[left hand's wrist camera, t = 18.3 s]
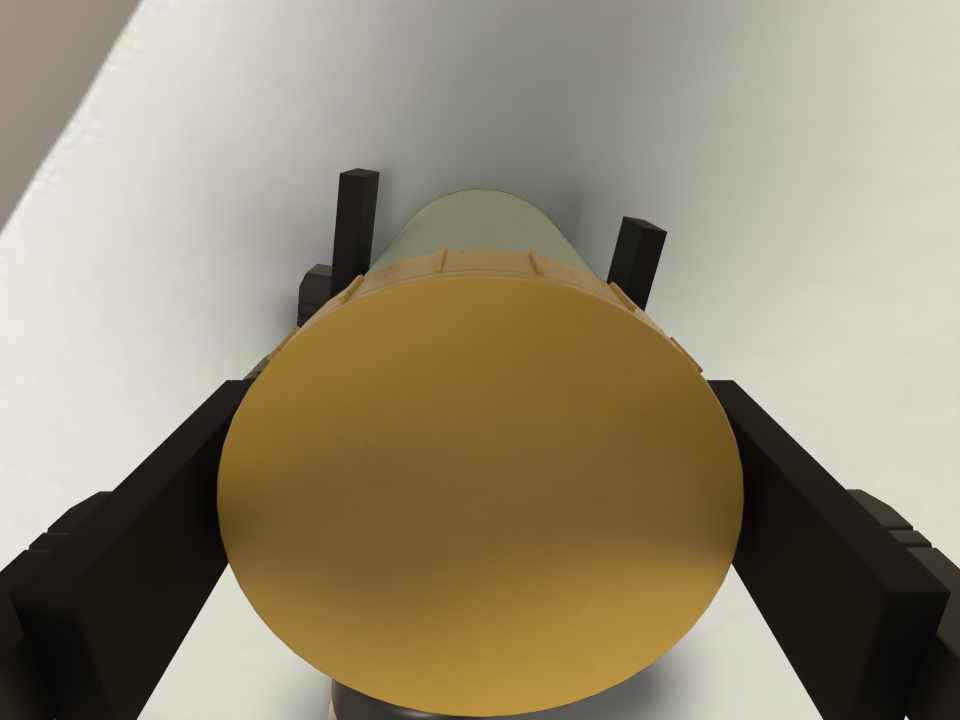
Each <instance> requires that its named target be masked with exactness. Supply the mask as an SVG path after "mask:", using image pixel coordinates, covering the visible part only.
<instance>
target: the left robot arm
mask: <svg viewBox="0 0 960 720" xmlns="http://www.w3.org/2000/svg"><path fill="white" fill-rule="evenodd" d="M254 381H255V380H227V381H225V382H224V383H223V384H222V385H221V386H220V387H219V388H218V389H217V390H216V391H215V392H214V393H213V394H212V395H211V396H210V397H209V398H208V399H207V400H206V401H205V402H204V403H203V404H202V405H201V406H200V407H199V408H198V409H197V410H196V411H195V412H194V413H193V414H192V415H191V416H189V417H188V418H187V419H186V420H185V421H184V422H183V423H182V424H181V425H180V426H179V427H178V428H177V429H176V430H175V431H174V432H173V433H172V434H171V435H170V436H169V437H168V438H167V439H166V440H165V441H164V442H163V443H162V444H161V445H160V446H159V447H158V448H157V449H156V450H155V451H153V452H152V453H151V454H150V455H149V456H148V457H147V458H146V459H145V460H144V461H143V462H142V463H141V464H140V465H139V466H138V467H137V468H136V469H135V470H134V471H133V472H132V473H131V474H130V475H129V476H128V477H127V478H126V479H125V480H124V481H123V482H122V483H121V484H120V485H118V486H117V487H116V488H115V489H114V490H113V491H100V492H98V493H96V494H95V495H93V496H91V497H89V498H88V499H86V500H84V501H82V502H80V503H79V504H77V505H75V506H73V507H72V508H70V509H69V510H68V511H67V512H65V513H64V514H63V515H62V516H61V517H60V518H59V519H58V520H57V521H56V522H54V523H53V524H52V525H51V526H50V527H49V528H48V531H47V533H42V534H41V535H40V536H39V537H38V538H37V539H36V540H35V541H34V542H33V543H31V544H30V545H29V549H28V550H24V551H23V552H22V553H21V554H19V555H18V556H17V557H16V558H15V559H14V560H13V561H12V562H11V563H10V564H8V565H7V566H6V567H5V568H4V569H3V570H2V571H1V572H0V720H53V719H54V718H56V720H137V718H138V716H139V715H140V713H141V711H142V710H143V708H144V706H145V705H146V703H147V701H148V699H149V698H150V696H151V694H152V693H153V691H154V689H155V687H156V686H157V684H158V682H159V681H160V679H161V677H162V676H163V674H164V672H165V670H166V669H167V667H168V665H169V664H170V662H171V660H172V658H173V657H174V655H175V653H176V652H177V650H178V648H179V647H180V645H181V643H182V641H183V640H184V638H185V636H186V635H187V633H188V631H189V629H190V628H191V626H192V624H193V623H194V621H195V619H196V618H197V616H198V614H199V612H200V611H201V609H202V607H203V606H204V604H205V602H206V600H207V599H208V597H209V595H210V594H211V592H212V590H213V589H214V587H215V585H216V583H217V582H218V580H219V578H220V577H221V575H222V573H223V572H224V570H225V568H226V566H227V565H228V563H229V561H228V558H227V555H226V551H225V548H224V544H223V541H222V537H221V533H220V526H219V518H218V511H217V480H218V471H219V465H220V460H221V455H222V449H223V445H224V442H225V439H226V437H227V434H228V431H229V428H230V425H231V423H232V420H233V417H234V415H235V413H236V411H237V410H238V408H239V406H240V404H241V402H242V401H243V399H244V397H245V395H246V393H247V392H248V390H249V388H250V387H251V385H252V384H253V383H254ZM706 381H707V382H708V384H709V386H710V387H711V389H712V391H713V392H714V394H715V396H716V397H717V399H718V401H719V402H720V404H721V406H722V407H723V409H724V411H725V414H726V416H727V419H728V421H729V424H730V426H731V429H732V431H733V434H734V436H735V439H736V442H737V447H738V451H739V456H740V460H741V465H742V470H743V487H744V507H743V516H742V526H741V532H740V536H739V539H738V543H737V547H736V551H735V555H734V558H733V560H732V565H733V566H734V568H735V570H736V572H737V573H738V575H739V577H740V578H741V580H742V582H743V583H744V585H745V587H746V589H747V590H748V592H749V594H750V595H751V597H752V599H753V601H754V602H755V604H756V606H757V607H758V609H759V611H760V612H761V614H762V616H763V618H764V619H765V621H766V623H767V624H768V626H769V628H770V630H771V631H772V633H773V635H774V636H775V638H776V640H777V641H778V643H779V645H780V647H781V648H782V650H783V652H784V653H785V655H786V657H787V658H788V660H789V662H790V664H791V665H792V667H793V669H794V670H795V672H796V674H797V676H798V677H799V679H800V681H801V682H802V684H803V686H804V687H805V689H806V691H807V693H808V694H809V696H810V698H811V699H812V701H813V703H814V705H815V706H816V708H817V710H818V711H819V713H820V715H821V716H822V718H823V720H904V718H905V716H907V718H908V719H909V720H960V569H959V568H958V567H957V566H956V565H955V564H954V563H953V562H951V561H950V560H949V559H948V558H947V557H946V556H945V555H944V554H943V553H942V552H940V551H939V550H938V549H937V548H932V545H931V544H932V543H931V542H929V541H928V540H927V539H926V538H925V537H924V536H923V535H922V534H921V533H919V532H918V531H914V530H913V526H912V525H911V524H910V523H908V522H907V521H906V520H905V519H904V518H903V517H902V516H901V515H900V514H899V513H897V512H896V511H895V510H894V509H893V508H892V507H891V506H889V505H887V504H885V503H884V502H882V501H880V500H878V499H877V498H875V497H873V496H871V495H869V494H868V493H866V492H864V491H862V490H846V489H845V488H844V487H843V486H841V485H840V484H839V483H838V482H837V481H836V480H835V479H834V478H833V477H832V476H831V475H830V474H829V473H828V472H827V471H826V470H825V469H824V468H823V467H822V466H821V465H820V464H819V463H818V462H817V461H816V460H815V459H814V458H813V457H812V456H811V455H810V454H809V453H808V452H807V451H805V450H804V449H803V448H802V447H801V446H800V445H799V444H798V443H797V442H796V441H795V440H794V439H793V438H792V437H791V436H790V435H789V434H788V433H787V432H786V431H785V430H784V429H783V428H782V427H781V426H780V425H779V424H778V423H777V422H776V421H775V420H774V419H773V418H772V417H771V416H769V415H768V414H767V413H766V412H765V411H764V410H763V409H762V408H761V407H760V406H759V405H758V404H757V403H756V402H755V401H754V400H753V399H752V398H751V397H750V396H749V395H748V394H747V393H746V392H745V391H744V390H743V389H742V388H741V387H740V386H739V385H738V384H737V383H736V382H734V381H733V380H706Z"/></svg>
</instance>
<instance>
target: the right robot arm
mask: <svg viewBox="0 0 960 720" xmlns="http://www.w3.org/2000/svg"><path fill="white" fill-rule="evenodd" d="M379 173H380V172H376V171H370V170H365V169H359V168H357V169H353V170H349V171H346V172H342V173H340V179H339V191H338V203H337V215H336V227H335V239H334V251H333V263H332V266H328V265H322V264H317V265H316V266H314V267H313V268H312V269H311V270H309V271H308V272H307V273H306V275H305V277H304V279H303V281H302V283H301V285H300V288H299V304H298V319H297V326H298V327H300V328H301V327H302V326H303V325H304V324H305V323H306V322H307V321H308V320H309V319H310V318H311V317H312V316H313V315H314V314H315V313H316V312H317V311H318V310H320V309H321V308H322V307H323V306H324V305H325V304H326V303H327V302H328V301H329V300H331V299H332V298H333V297H335V296H336V295H338V294H339V293H340V292H342V291H343V290H345V289H346V288H347V287H349V285H350V284H351V283H352V282H353V281H354V280H355V278H356V277H357V276H359V275H361V274H362V275H363V277H364V276H365V274H366V273H367V272H368V271H369V267H370V257H371V248H372V238H373V229H374V220H375V210H376V201H377V191H378V182H379ZM666 234H667V232H666V231H664V230H662V229H660V228H659V227H657V226H655V225H653V224H651V223H649V222H647V221H645V220H641V219H636V218H630V217H625V216H624V217H623V220H622V224H621V228H620V232H619V236H618V240H617V244H616V248H615V251H614V255H613V259H612V263H611V267H610V271H609V275H608V278H607V282H606V283H607V284H609V285H610V284H611V282H614V283H615V284H617V286H618V287H619V288H620V289H621V290H622V291H623V292H624V293H625V294H626V295H627V297H628V298H629V299H630V300H631V301H632V302H633V303H635V304H636V305H637V306H638V307H639V308H640V309H641V310H642V311H643V312H644V311H645V307H646V304H647V300H648V297H649V293H650V290H651V287H652V283H653V280H654V276H655V273H656V269H657V266H658V262H659V259H660V255H661V252H662V248H663V245H664V241H665V238H666ZM269 355H270V354H269ZM269 355H267V356H266V357H265V358H263V359H262V360H261V361H260V362H259V363H258V364H257V366H256V367H255V368H254V369H253V370H252V371H251V372H250V373H249V374H248V375H247V376H246V377H245V378H244V379H243V380H256V379H257V378H258V376H259V375H260V374H261V372H262V371H263V370H264V369H265V367H266V366H267V365H268V363H269V362H270V361H269V360H267V358H268V356H269ZM331 695H332V696H331V700H330V703H329V714H328V720H492V717H493V716H487V717H478V716H453V715H446V714H438V713H430V712H424V711H419V710H415V709H411V708H406V707H402V706H398V705H394V704H391V703H388V702H385V701H382V700H379V699H376V698H373V697H370V696H368V695H366V694H363V693H361V692H359V691H357V690H354V689H352V688H350V687H348V686H345V685H343V684H341V683H340V682H338V681H336V680H334V679H332V691H331Z"/></svg>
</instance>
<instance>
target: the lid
mask: <svg viewBox="0 0 960 720" xmlns="http://www.w3.org/2000/svg"><path fill="white" fill-rule="evenodd" d="M267 360H269V361H270V362H269V363H268V365H267V366H266V367H265V369H264V370H263V371H262V372H261V374H260V375H259V376H258V378H257V379H256V380H255V381H254V383H253V384H252V385H251V387H250V388H249V390H248V392H247V393H246V395H245V397H244V399H243V401H242V402H241V404H240V406H239V408H238V410H237V411H236V413H235V415H234V417H233V420H232V423H231V425H230V428H229V431H228V434H227V437H226V439H225V442H224V445H223V449H222V455H221V460H220V465H219V471H218V480H217V511H218V518H219V526H220V533H221V537H222V541H223V544H224V548H225V551H226V555H227V558H228V561H229V564H230V566H231V568H232V570H233V573H234V575H235V577H236V579H237V581H238V583H239V586H240V588H241V589H242V591H243V592H244V594H245V596H246V597H247V599H248V600H249V602H250V603H251V605H252V607H253V608H254V610H255V611H256V613H257V614H258V615H259V616H260V617H261V619H262V620H263V621H264V622H265V623H266V625H267V626H268V627H269V628H270V629H271V631H272V632H273V633H274V634H275V635H276V636H277V637H278V638H279V639H280V640H282V641H283V642H284V643H285V644H286V645H287V646H288V647H289V648H290V649H291V650H292V651H293V652H294V653H296V654H297V655H298V656H300V657H301V658H302V659H304V660H305V661H307V662H308V663H309V664H311V665H312V666H313V667H315V668H316V669H317V670H319V671H321V672H322V673H324V674H326V675H328V676H329V677H331V678H333V679H334V680H336V681H338V682H340V683H341V684H343V685H345V686H348V687H350V688H352V689H354V690H357V691H359V692H361V693H363V694H366V695H368V696H370V697H373V698H376V699H379V700H382V701H385V702H388V703H391V704H394V705H398V706H402V707H406V708H411V709H415V710H419V711H424V712H430V713H438V714H446V715H453V716H478V717H487V716H504V715H516V714H523V713H529V712H536V711H542V710H546V709H550V708H554V707H558V706H562V705H566V704H570V703H573V702H576V701H579V700H581V699H584V698H587V697H590V696H593V695H595V694H598V693H600V692H602V691H604V690H606V689H608V688H611V687H613V686H615V685H617V684H619V683H621V682H623V681H625V680H627V679H628V678H630V677H631V676H633V675H635V674H636V673H638V672H640V671H641V670H643V669H645V668H646V667H648V666H649V665H650V664H652V663H653V662H654V661H656V660H657V659H658V658H659V657H661V656H662V655H663V654H665V653H666V652H667V651H668V650H670V649H671V648H672V647H673V646H674V645H675V644H676V643H677V642H678V641H679V640H680V639H681V638H682V637H683V636H684V635H685V634H686V633H687V632H688V631H689V630H690V629H691V628H692V627H693V626H694V624H695V623H696V622H697V621H698V619H699V618H700V617H701V616H702V614H703V613H704V612H705V611H706V609H707V608H708V607H709V605H710V603H711V602H712V600H713V598H714V597H715V595H716V593H717V592H718V590H719V588H720V587H721V585H722V583H723V581H724V579H725V577H726V574H727V572H728V570H729V567H730V565H731V563H732V560H733V558H734V555H735V551H736V547H737V543H738V539H739V536H740V532H741V526H742V516H743V507H744V487H743V470H742V465H741V460H740V456H739V451H738V447H737V442H736V439H735V436H734V434H733V431H732V429H731V426H730V424H729V421H728V419H727V416H726V414H725V411H724V409H723V407H722V406H721V404H720V402H719V401H718V399H717V397H716V396H715V394H714V392H713V391H712V389H711V387H710V386H709V384H708V382H707V381H706V380H705V379H704V377H703V376H702V375H701V374H700V373H701V372H703V370H702V368H701V367H700V366H699V365H698V364H697V363H696V362H695V361H694V359H693V358H692V357H691V356H690V355H689V354H688V353H687V352H686V351H685V350H684V349H683V348H682V347H681V346H680V345H679V344H678V343H677V342H676V340H675V339H674V338H673V337H670V338H669V337H668V336H667V335H666V334H665V333H664V332H663V331H662V330H661V329H660V328H659V327H658V326H657V324H656V323H655V322H654V321H653V320H652V319H651V318H650V317H649V316H648V315H647V314H646V313H645V312H643V311H642V310H641V309H640V308H639V307H638V306H637V305H636V304H635V303H633V302H632V301H631V300H630V299H629V298H628V297H627V295H626V294H625V293H624V292H623V291H622V290H621V289H620V288H619V287H618V286H617V284H615V283H614V282H611V284H610V285H609V284H607V283H606V282H604V281H603V280H601V279H599V278H597V277H595V276H593V275H591V274H589V273H587V272H584V271H582V270H580V269H578V268H576V267H574V266H572V265H568V264H565V263H562V262H559V261H556V260H553V259H550V258H547V257H544V256H540V255H538V254H537V252H536V251H535V250H530V253H524V252H518V251H513V250H501V249H482V248H473V249H461V250H448V251H446V247H443V248H440V250H439V252H436V253H432V254H427V255H422V256H417V257H413V258H410V259H407V260H404V261H401V262H398V263H396V264H393V265H390V266H387V267H385V268H382V269H380V270H378V271H376V272H374V273H372V274H370V275H368V276H366V277H363V275H362V274H361V275H359V276H357V277H356V278H355V280H354V281H353V282H352V283H351V284H350V285H349V287H347V288H346V289H345V290H343V291H342V292H340V293H339V294H338V295H336V296H335V297H333V298H332V299H331V300H329V301H328V302H327V303H326V304H325V305H324V306H323V307H322V308H321V309H320V310H318V311H317V312H316V313H315V314H314V315H313V316H312V317H311V318H310V319H309V320H308V321H307V322H306V323H305V324H304V325H303V326H302V327H301V328H300V327H298V326H297V327H296V328H295V329H294V330H293V331H292V332H291V333H290V334H289V335H288V336H287V337H286V338H285V339H284V340H283V341H282V342H281V343H280V345H279V346H278V347H277V348H276V349H275V350H274V351H273V352H272V353H271V354H270V355H269V356H268V358H267Z"/></svg>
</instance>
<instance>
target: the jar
mask: <svg viewBox="0 0 960 720" xmlns="http://www.w3.org/2000/svg"><path fill="white" fill-rule="evenodd" d="M443 247H446V251H448V250H461V249H473V248H482V249H501V250H513V251H518V252H524V253H530V250H535V251H536V252H537V254H538V255H540V256H544V257H547V258H550V259H553V260H556V261H559V262H562V263H565V264H568V265H572V266H574V267H576V268H578V269H580V270H582V271H584V272H587V273H589V274H591V275H593V276H595V277H597V276H596V275H595V274H594V273H593V271H592V270H591V269H590V268H589V266H588V265H587V264H586V263H585V262H584V260H583V259H582V258H581V257H580V255H579V254H578V253H577V252H576V251H575V249H574V248H573V247H572V246H571V244H570V243H569V242H568V241H567V240H566V238H565V237H564V236H563V235H562V233H561V232H560V231H559V230H558V229H557V227H556V226H555V225H554V224H553V223H552V221H551V220H550V219H549V218H548V217H547V216H546V215H545V214H544V213H542V212H541V211H540V210H539V209H538V208H536V207H535V206H533V205H532V204H530V203H529V202H527V201H525V200H523V199H521V198H519V197H517V196H514V195H511V194H508V193H505V192H500V191H495V190H485V189H475V190H465V191H460V192H456V193H452V194H449V195H446V196H444V197H441V198H439V199H437V200H435V201H433V202H432V203H430V204H428V205H427V206H426V207H424V208H423V209H421V210H420V211H419V212H418V213H417V214H416V215H415V216H414V217H412V218H411V219H410V220H409V222H408V223H407V224H406V225H405V227H404V228H403V229H402V230H401V231H400V233H399V234H398V235H397V236H396V238H395V239H394V240H393V241H392V242H391V244H390V245H389V246H388V247H387V249H386V250H385V251H384V252H383V254H382V255H381V256H380V257H379V258H378V260H377V261H376V262H375V263H374V265H373V266H372V267H371V268H370V269H369V271H368V272H367V273H366V274H365V276H364V277H366V276H368V275H370V274H372V273H374V272H376V271H378V270H380V269H382V268H385V267H387V266H390V265H393V264H396V263H398V262H401V261H404V260H407V259H410V258H413V257H417V256H422V255H427V254H432V253H436V252H439V250H440V248H443ZM597 278H598V277H597Z"/></svg>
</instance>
